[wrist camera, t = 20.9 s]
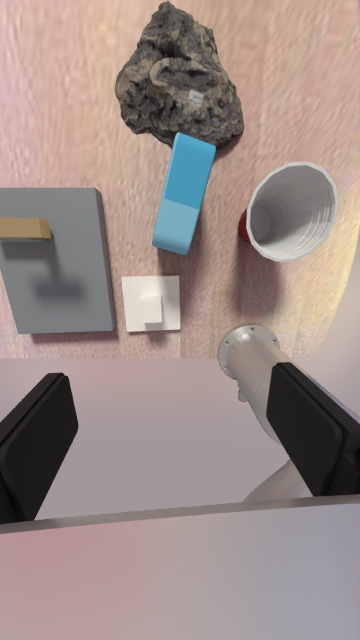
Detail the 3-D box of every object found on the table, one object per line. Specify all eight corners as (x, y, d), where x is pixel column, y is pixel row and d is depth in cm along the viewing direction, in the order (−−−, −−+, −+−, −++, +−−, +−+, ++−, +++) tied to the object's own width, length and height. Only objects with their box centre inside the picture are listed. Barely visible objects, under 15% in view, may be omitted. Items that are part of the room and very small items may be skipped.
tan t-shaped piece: (-2, 239, 31) (-63, 236, 23) (-6, 225, 31) (-70, 216, 22) (74, 240, 32) (41, 237, 24) (72, 226, 32) (38, 218, 23)
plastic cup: (210, 218, 35) (230, 204, 24) (265, 174, 34) (315, 136, 22) (243, 271, 38) (275, 280, 27) (295, 233, 37) (352, 225, 26)
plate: (116, 324, 40) (112, 330, 37) (29, 328, 39) (18, 334, 36) (100, 193, 33) (94, 187, 30) (-6, 193, 32) (-23, 187, 29)
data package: (181, 254, 37) (187, 256, 25) (155, 246, 36) (151, 245, 25) (201, 177, 33) (219, 140, 22) (173, 168, 33) (177, 124, 21)
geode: (130, -12, 27) (111, 128, 31) (125, -53, 23) (104, 112, 27) (265, 50, 30) (230, 170, 34) (280, 22, 26) (238, 161, 30)
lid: (179, 326, 41) (182, 339, 35) (128, 328, 41) (121, 342, 35) (178, 275, 38) (181, 279, 32) (122, 276, 38) (114, 281, 32)
